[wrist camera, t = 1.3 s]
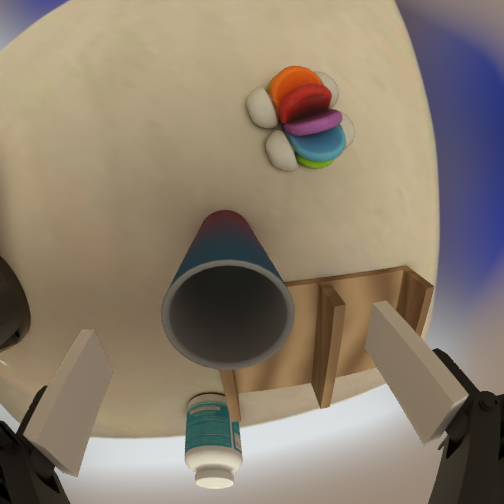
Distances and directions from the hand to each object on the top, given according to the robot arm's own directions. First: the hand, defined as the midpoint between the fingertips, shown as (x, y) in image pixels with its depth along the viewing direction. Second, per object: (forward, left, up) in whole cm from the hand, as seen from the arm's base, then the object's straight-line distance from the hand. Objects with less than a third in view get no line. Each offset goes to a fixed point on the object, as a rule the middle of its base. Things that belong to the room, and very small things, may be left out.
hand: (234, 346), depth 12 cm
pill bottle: (-5, -26, -17) cm, 32 cm away
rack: (+10, -14, -17) cm, 24 cm away
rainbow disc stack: (+8, +11, -17) cm, 22 cm away
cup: (0, 0, -17) cm, 17 cm away
